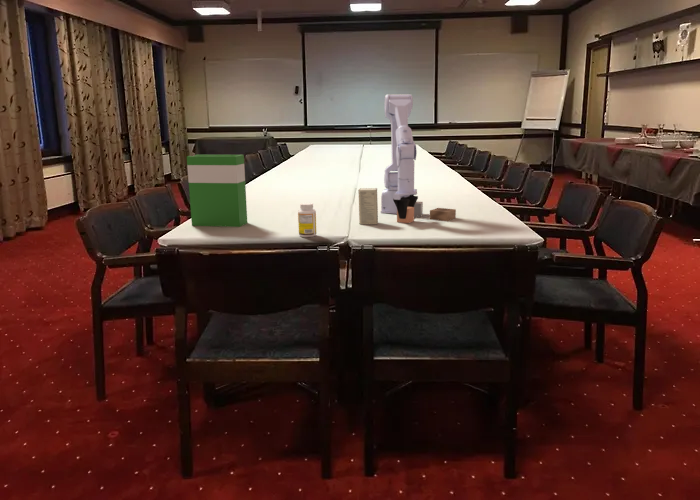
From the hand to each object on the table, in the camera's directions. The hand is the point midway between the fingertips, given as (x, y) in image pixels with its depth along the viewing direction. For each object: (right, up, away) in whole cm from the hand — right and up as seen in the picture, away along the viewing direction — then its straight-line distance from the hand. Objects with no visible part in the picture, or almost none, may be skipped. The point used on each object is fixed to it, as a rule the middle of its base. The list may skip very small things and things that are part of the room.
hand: (405, 217), depth 203 cm
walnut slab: (+14, 0, +5) cm, 15 cm away
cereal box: (-66, -3, 0) cm, 66 cm away
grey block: (+5, +1, +12) cm, 13 cm away
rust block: (0, -1, 0) cm, 1 cm away
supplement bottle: (-33, -7, -21) cm, 40 cm away
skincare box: (-13, -2, -2) cm, 14 cm away
